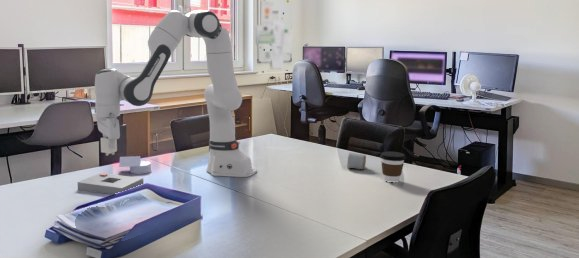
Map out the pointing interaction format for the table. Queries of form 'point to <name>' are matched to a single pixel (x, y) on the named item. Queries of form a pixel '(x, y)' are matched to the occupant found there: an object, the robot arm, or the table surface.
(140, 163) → the wedge on round base
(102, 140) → the plug
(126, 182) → the socket plate
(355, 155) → the grey rounded block
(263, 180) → the table surface
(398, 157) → the coffee cup
